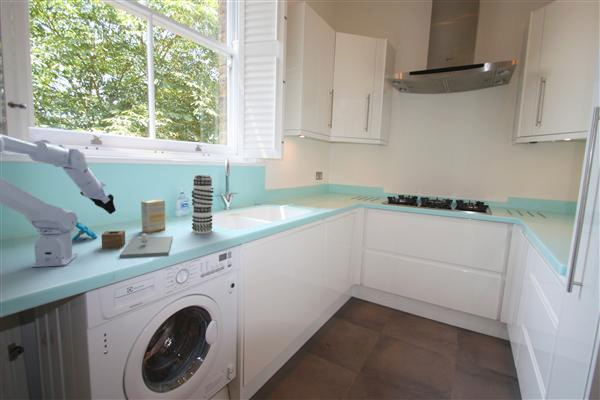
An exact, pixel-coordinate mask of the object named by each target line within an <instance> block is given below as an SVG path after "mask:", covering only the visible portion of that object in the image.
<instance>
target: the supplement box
mask: <svg viewBox="0 0 600 400" xmlns="http://www.w3.org/2000/svg"><path fill="white" fill-rule="evenodd" d="M140 203H141V207H140V209H141V231H142V232H144V233H154V232H158V231H159V232H160V231H163V230H166V200H163V199H151V200H141V202H140Z"/></svg>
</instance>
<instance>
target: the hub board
mask: <svg viewBox="0 0 600 400" xmlns="http://www.w3.org/2000/svg"><path fill="white" fill-rule="evenodd" d="M172 242H173V236H169V235H168V236H153V237H152V236H148V234H146V233H142V234H141V237H132V238H131V239H130V240H129V242H128V243H127V245H126V246H125V247H124V248H123V250H122V251H121V253H120V254H119V259H123V258H138V257H139V258H140V257H141V258H142V257H157V256H159V257H160V256H161V257H162V256H169V254H170V250H171V245H172Z"/></svg>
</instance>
